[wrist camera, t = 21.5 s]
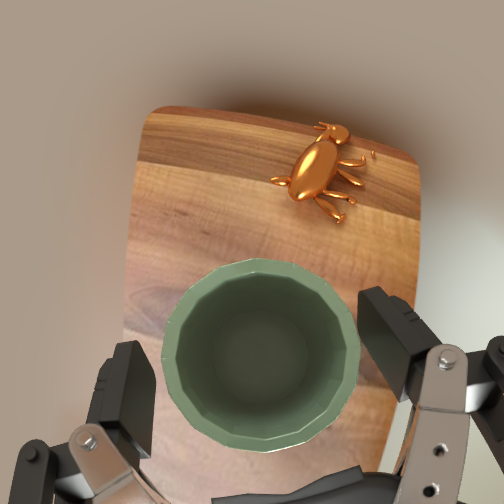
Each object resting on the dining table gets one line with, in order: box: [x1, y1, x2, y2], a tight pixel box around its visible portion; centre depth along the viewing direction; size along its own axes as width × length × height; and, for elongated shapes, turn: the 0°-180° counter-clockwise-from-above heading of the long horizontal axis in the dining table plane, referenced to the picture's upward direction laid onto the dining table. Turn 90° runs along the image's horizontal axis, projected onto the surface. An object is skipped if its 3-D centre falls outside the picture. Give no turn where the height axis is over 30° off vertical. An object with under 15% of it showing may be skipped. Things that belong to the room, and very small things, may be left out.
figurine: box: [269, 122, 375, 223], centre depth 32 cm, size 12×4×11 cm
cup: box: [161, 258, 361, 453], centre depth 12 cm, size 6×6×8 cm
